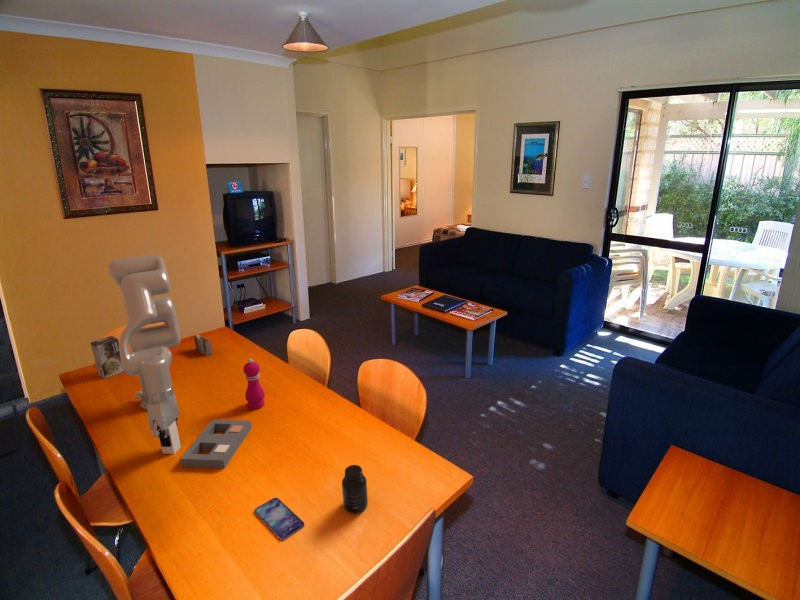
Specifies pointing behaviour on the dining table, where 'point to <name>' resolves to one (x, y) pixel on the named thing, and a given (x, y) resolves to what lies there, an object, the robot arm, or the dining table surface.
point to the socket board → (217, 444)
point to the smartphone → (279, 518)
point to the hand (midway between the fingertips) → (170, 441)
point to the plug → (172, 439)
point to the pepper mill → (253, 385)
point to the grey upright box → (202, 344)
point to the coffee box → (107, 356)
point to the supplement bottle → (354, 490)
